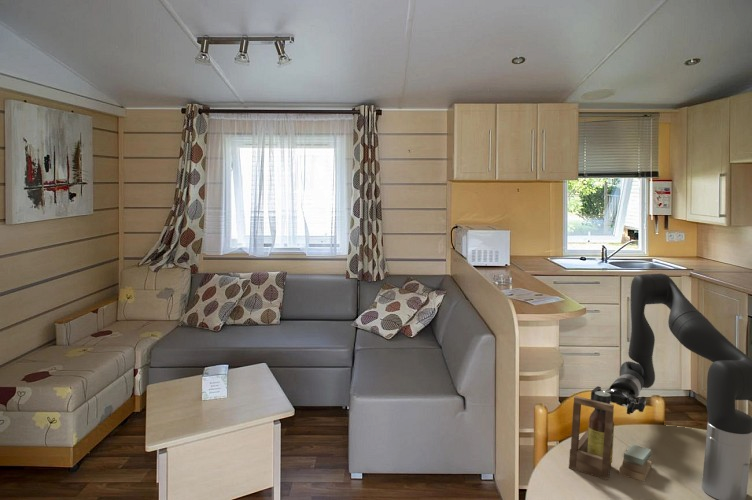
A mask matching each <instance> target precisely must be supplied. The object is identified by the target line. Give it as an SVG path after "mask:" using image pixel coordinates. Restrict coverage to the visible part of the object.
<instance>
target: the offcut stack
mask: <svg viewBox="0 0 752 500" xmlns="http://www.w3.org/2000/svg"><path fill="white" fill-rule="evenodd" d="M651 457H652V449H650V448H647V447H643V446H640V445H637V444H634V443H632V444H631V446H630V447H628V448H627V449H626V450H625V452H624V453H623V460H622V463H621V465H620V467H619V472H618V475H622V476H624V477H628V478H631V479H635V480H638V481H641V482H645V480H646V478H647V477H648V475H649V472H650V470H651V469H652V462H653V461H651V460H649V459H650V458H651Z"/></svg>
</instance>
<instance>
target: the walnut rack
mask: <svg viewBox="0 0 752 500" xmlns="http://www.w3.org/2000/svg"><path fill="white" fill-rule="evenodd" d="M572 406H573V407H572V425H571V437H570V438H571V441H570V449H569V461H568V468H569V469H571V470H573V471H574V470H575V471H578V472H582V473H585V474H588V475H590V476H591V475H592V476H595V477H597V478H601V479H603V480H606V481H608V480H609V478H610V470H611V467H610V456H611V441H612V427H613V422H614V411H615V410H614V407H615V405H614V404H613V403H610V404H608V403H603V402H599V401H595V400H591V398H590V399H589V398H586V397H582V396H578V395H574V397H573V405H572ZM582 406H585V407H589V408H594V409H595V408H597V409H601V410H605V411H606V416H605V431H604V446H603V457H600V456H597V455H593V454H590V453H587V447H588V429H587V430H586V431H585V432H584V433H583V434H582V436H581V437H580V427H581V426H580V425H581V413H582V410H581V409H582Z"/></svg>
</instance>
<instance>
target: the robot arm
mask: <svg viewBox="0 0 752 500" xmlns="http://www.w3.org/2000/svg"><path fill="white" fill-rule="evenodd" d="M631 280H632V281H631V284H630V322H631V328H630V330H631V332H630V339H629V345H628V346H629V348H628V357H629V358H630V359H631V361H625V362H623V363H622V364H621V365H620V368H619V376H618V377H616V379H615V380H614V381H613V382H612V384H611V385H610V386H609V388H608V389H605V390H604V389H602V388H601V386H596V387H595V388H593V389H592V390H591V391H590V399H591V400H595V398H594V395H595V392H597V391H604V392H607V393H610V394H611V400H610V404H616V405H618V406H622V407H625V408H626V414H627V415H630V414H634V412H636V411H638V412H640V413H643V412H644V410H645V407H646V404H647V403H646V402H647V397H646V396H641V397H639V396H640V393H641V390H642V389H643V388H644V389H649V388H651V387H652V386H653V385H654V383H655V380H656V373H655V367H654V361H653V354H654V348H655V334H654V330H653V328H652V327H651V326H650V324H649V321H648V320H647V318H646V313H645V310H646V309H645V308H646V305H660V304H661V305H664V306H666V307H667V308H668V309H669V310H670V311H669V316H668V324H667V325H668V328H669V330H670V332H671V334H672V335H673V336H674V337H675V338H676V339H677V341H678V342H680V344H681V345H683V347H685V348H686V349H687V350H688V351H690V352H692V353H694V354H696V355H698V356H700V357H701V358H704V359H706V360H708V361H711V362H712V363H711V364H710V366H709V367H708V370H707V371H708V372H707V377H706V378H707V379H706V403H705V405H706V412H707V425H706V434H705V435H706V437H705V446H704V447H705V448H704V458H703V459H704V460H703V468H702V469H703V470H702V471H703V472H702V477H701V478H702V479H701V489H702V491H703V492H704V493H706V494H707V495H709V496H710V497H711V498H714V499H716V500H747V495H748V485H749V484H748V483H749V475H750V464H751V453H752V416H750V415H749V414H748V413H745V412H744V411H741V410H739V409H736V401H752V358H751V357H750V356H748V355H747V354H746V353H744V352H743V351H742V350H741V349H740V348H738V347H736V345H734V344H733V343H732V342H731V341H730V340H729V339H728V338H726V336H724V334H722V332H720V331H719V330H718V329H717V328H716V326H714V325H713V324H712V322H711V321H709V319H708V318H707V317H706V316H705V315H704V314H703V313H701V312H700V311H699V310H698V308H696V307H695V306H694V305H693V304H692V303H691V301H690V300H689V299H688V297H686V296H685V295H684V294H683V292H682V291H681V289H680V288H679V287H678V285H677V284H676V282H674V280H673V279H672V278H671V277H670V276H668V274H664V273H649V274H647V273H646V274H637V275H635V276H634V277H633V278H632V279H631Z"/></svg>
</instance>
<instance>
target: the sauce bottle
mask: <svg viewBox="0 0 752 500" xmlns="http://www.w3.org/2000/svg"><path fill="white" fill-rule="evenodd" d="M604 391H605V390H604ZM604 391H597V392H595V395H594V398H595V401H599V402H603V403H608V404H611V403H610V400H611V394H610V393H607V392H604ZM605 416H606V411H605V410H601V409H597V408H594V409H593V411H592V412H591V413H590V415H589V418H588V429H587V430H588V447H587V453H590V454H593V455H597V456H600V457H603V446H604V431H605ZM614 429H615V422H614V421H613V427H612V441H611V456H610V468H611V467H612V462H613V455H614V454H613V452H614V451H613V450H614V434H615V433H614V431H615V430H614Z"/></svg>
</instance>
